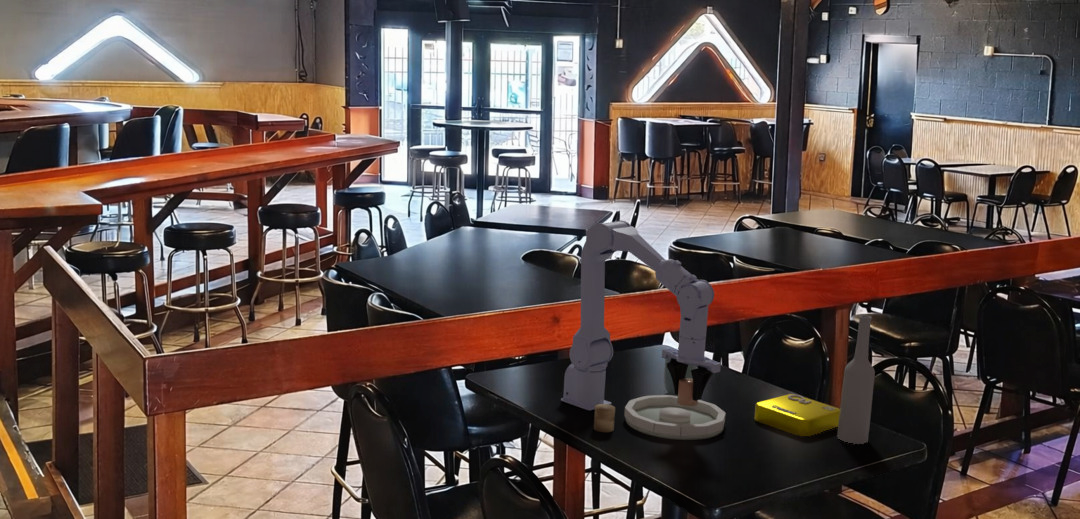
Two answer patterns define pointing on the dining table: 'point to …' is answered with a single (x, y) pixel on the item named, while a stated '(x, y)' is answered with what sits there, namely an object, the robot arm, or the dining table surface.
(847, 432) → the bottle
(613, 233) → the robot arm
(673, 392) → the cup
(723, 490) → the dining table surface
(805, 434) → the element tile
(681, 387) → the terracotta bead
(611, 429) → the maple bead
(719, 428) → the groove tray
